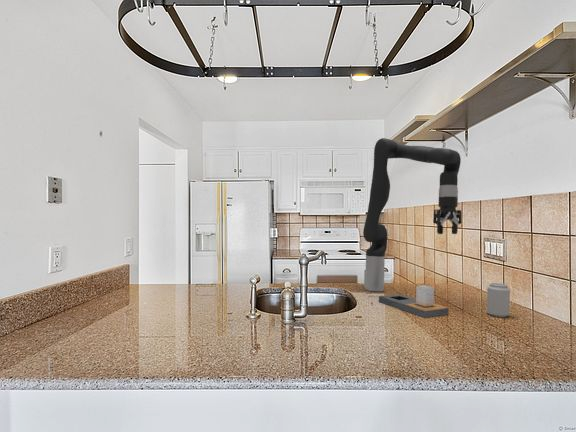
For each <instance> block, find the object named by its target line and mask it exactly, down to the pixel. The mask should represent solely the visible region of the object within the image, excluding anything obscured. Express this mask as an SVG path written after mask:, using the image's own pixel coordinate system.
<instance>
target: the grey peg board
mask: <svg viewBox="0 0 576 432" xmlns="http://www.w3.org/2000/svg"><path fill="white" fill-rule="evenodd" d="M378 302H379V303H381V304H383V305H386V306H389V307H392V308H394V309H395V308H396V309H399V310H401V311H403V312H406V313H407V312H408V313H411V314H413V315H416V316H418V317H422V318H425V319H426V318H427V319H428V318H433V317H434V318H435V317H440V316H441V317H442V316H446V315H447V316H448V315H449V307H448V306H444V305H441V304H438V303H434V307H428V308H424V307H421V306H418V305H416V297H411V296H408V295H404V294H398V293H397V294H389V295H388V294H387V295H386V294H385V295H379V296H378Z"/></svg>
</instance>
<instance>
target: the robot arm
mask: <svg viewBox="0 0 576 432" xmlns="http://www.w3.org/2000/svg"><path fill="white" fill-rule="evenodd" d="M373 149H374V151H373V168H372V169H373V171H372V177H371V178H372V179H371V186H370V190H369V192H370V193H369V199H368V200H369V201H368V206H367V213H366V217H365V223H364V226H363V232H362V233H363V234H362V235H363V238H364V241H366V242H367V243H371V244H370V246H369V247H368V248H367V249H366V251H365V269H364V274H363V275H364V282H363V283H364V284H363V288H364V290H365V291H369V292H370V291H371V292H384V291H385V256H386V251H387V247H388V246H387V244H388V230H387V227H386V226H385V225H384V224H382V223H379V222H380V216H381V215H382V212H383V210H384V208H385V206H386V205H387V203H388V201H389V198H390V192H391V182H390V178H389V172H388V162H389V160H390V159H405V160H406V159H407V160H411V161H416V162H421V163H427V164H437V165H442V166H443V172H441V173H440V174H439V189H438V207H439V209H438V208H437V209H436V208H435V209H434V210H433V218H432V219H433V221H432V222H433V224H434V225H436V228H437V229H436V232H437V234H438V235H443V233H444V223H445V222H446V221H449V222H450V223H451V234H452V235H457V234H458V230H459V228H458V227H459V225H460V224H461V225H462V223H463V222H462V221H463V220H462V210H461V209H456V208H458V206H459V205H458V204H459V203H458V202H459V201H458V200H459V187H458V181H459V180H458V175H459V171H460V168H461V161H462V160H461V159H462V158H461V155H460V153H459V152H458V151H457V150H453V149H451V148H446V147H445V148H444V147H443V148H442V147H433V146H425V145H407V144H404V143H400V142H397V141H395V140H392V139H389V138H386V137H382V138H379V139H378V140H377V141H376V143H375V145H374V148H373Z"/></svg>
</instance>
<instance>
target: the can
mask: <svg viewBox="0 0 576 432" xmlns="http://www.w3.org/2000/svg"><path fill="white" fill-rule="evenodd" d="M486 291H487V292H486V312H487V313H488V315H490V316H493V317H496V316H498V318H506V316H507V317H508V316H509V315H510V305H511V304H510V302H511V301H510V299H511V294H510V293H511V289H510V288H509V285H508V284H505V283H499V282H489V285H488V286H487V287H486Z"/></svg>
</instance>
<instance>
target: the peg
mask: <svg viewBox="0 0 576 432" xmlns="http://www.w3.org/2000/svg"><path fill="white" fill-rule="evenodd" d="M415 289H416V293H415V295H416V297H415V299H416V305H418V306H421V307H424V308H428V307H434V304H435V302H434V301H435V300H434V299H435V298H434V297H435V286H430V285H425V284H424V285H416V288H415Z"/></svg>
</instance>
